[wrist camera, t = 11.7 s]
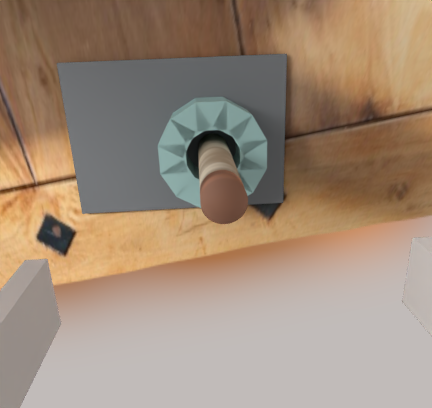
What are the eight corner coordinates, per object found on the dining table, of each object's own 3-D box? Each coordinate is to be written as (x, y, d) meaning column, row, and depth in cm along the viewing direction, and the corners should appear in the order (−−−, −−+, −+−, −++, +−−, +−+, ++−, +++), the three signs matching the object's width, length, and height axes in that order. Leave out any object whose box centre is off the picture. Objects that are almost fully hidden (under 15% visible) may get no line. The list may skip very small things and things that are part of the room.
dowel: (197, 162, 37) (199, 223, 23) (198, 133, 36) (200, 178, 22) (226, 162, 37) (246, 224, 23) (228, 133, 36) (249, 179, 22)
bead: (166, 195, 38) (163, 210, 35) (158, 99, 35) (153, 104, 31) (259, 190, 39) (266, 205, 35) (259, 94, 35) (267, 99, 32)
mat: (84, 211, 39) (82, 213, 38) (58, 62, 34) (56, 63, 34) (281, 200, 40) (283, 202, 39) (285, 53, 35) (286, 53, 34)
